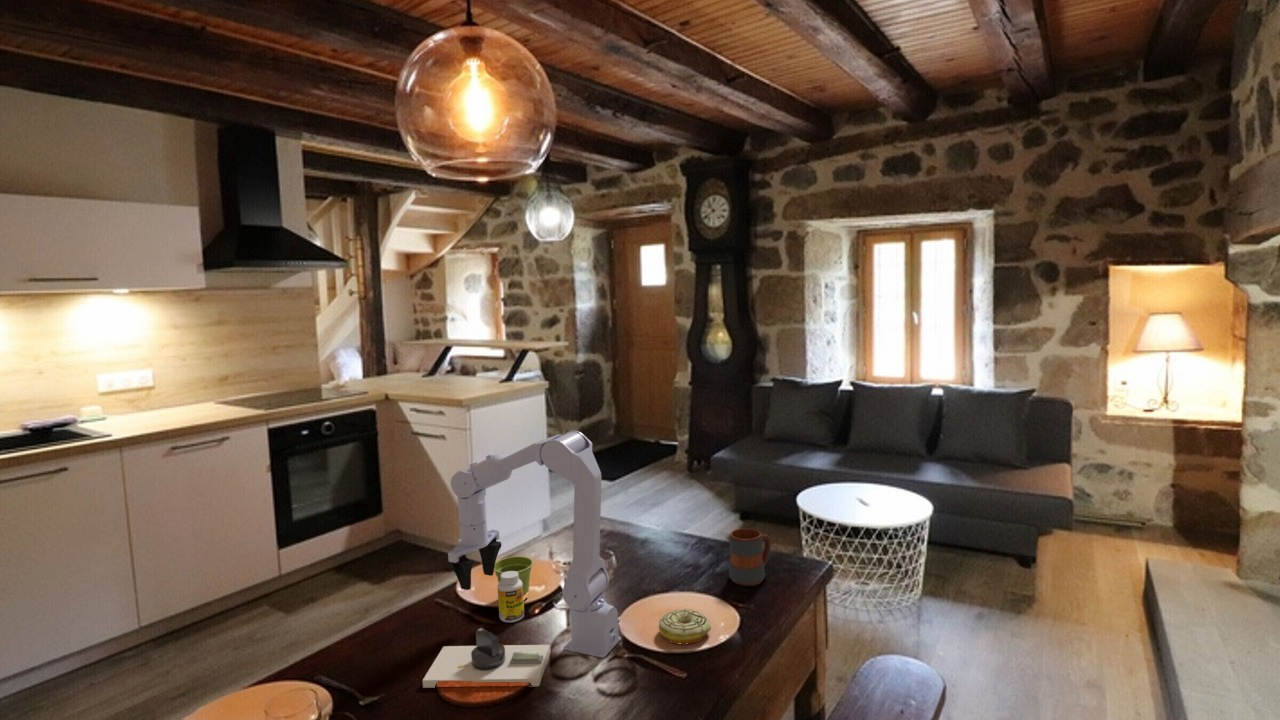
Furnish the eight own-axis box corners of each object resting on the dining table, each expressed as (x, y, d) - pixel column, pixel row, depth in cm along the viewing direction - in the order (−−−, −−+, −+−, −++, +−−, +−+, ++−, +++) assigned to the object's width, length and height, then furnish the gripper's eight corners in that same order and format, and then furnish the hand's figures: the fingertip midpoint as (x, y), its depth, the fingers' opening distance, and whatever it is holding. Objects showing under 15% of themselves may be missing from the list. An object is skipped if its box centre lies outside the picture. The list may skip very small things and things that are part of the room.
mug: (782, 577, 169) (781, 531, 168) (744, 590, 163) (743, 543, 162) (759, 565, 177) (758, 522, 175) (722, 577, 171) (721, 532, 169)
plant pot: (527, 608, 159) (525, 572, 158) (489, 607, 160) (486, 571, 159) (540, 590, 168) (538, 556, 167) (503, 589, 169) (501, 555, 168)
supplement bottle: (505, 626, 151) (502, 581, 150) (495, 616, 155) (492, 573, 154) (528, 618, 154) (525, 575, 153) (518, 609, 158) (515, 566, 157)
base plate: (550, 651, 140) (549, 635, 139) (539, 686, 128) (538, 668, 127) (444, 653, 141) (442, 637, 140) (423, 687, 129) (421, 670, 128)
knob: (511, 659, 134) (510, 632, 133) (483, 673, 129) (481, 645, 129) (493, 648, 138) (491, 621, 138) (465, 661, 134) (463, 634, 133)
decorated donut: (720, 633, 144) (720, 616, 144) (684, 653, 137) (684, 635, 137) (685, 616, 152) (684, 600, 152) (649, 634, 145) (649, 617, 145)
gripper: (480, 509, 157) (484, 566, 159) (435, 530, 145) (440, 592, 146) (505, 512, 154) (509, 570, 156) (461, 535, 141) (465, 597, 143)
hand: (477, 581), depth 151 cm, fingers open, 7 cm apart
